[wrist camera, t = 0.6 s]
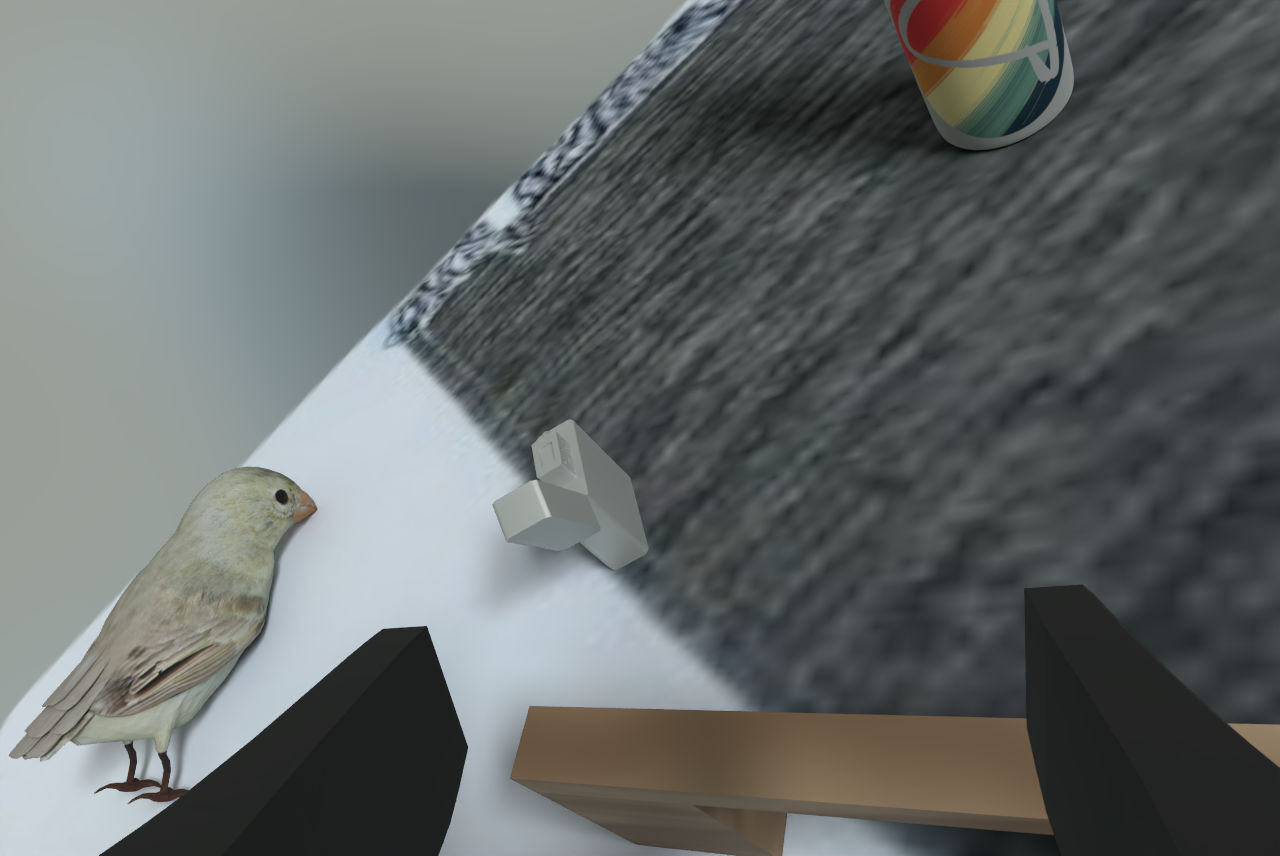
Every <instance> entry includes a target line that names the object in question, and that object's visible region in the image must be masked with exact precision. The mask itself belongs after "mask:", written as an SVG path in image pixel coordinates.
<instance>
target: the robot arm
mask: <svg viewBox="0 0 1280 856" xmlns="http://www.w3.org/2000/svg"><path fill="white" fill-rule="evenodd" d="M1024 594H1025V657H1026V721H1027V731H1028V736H1029V740H1030V745H1031V749H1032V754H1033V758H1034V763H1035V767H1036V772H1037V776H1038V780H1039V784H1040V789H1041V793H1042V797H1043V801H1044V805H1045V810H1046V813H1047V816H1048V819H1049V822H1050V825H1051V828H1052V831H1053V833H1054V836H1055V839H1056V842H1057V845H1058V848H1059V850H1060V853H1061V856H1280V767H1278V766H1277V765H1276V764H1275V763H1274V762H1272V761H1271V760H1270V759H1269V758H1267V757H1266V756H1265V755H1264V754H1263V753H1261V752H1260V751H1259V750H1258V749H1256V748H1255V747H1254V746H1253V745H1252V744H1250V743H1249V742H1248V741H1247V740H1246V739H1245V738H1243V737H1242V736H1241V735H1240V734H1239V733H1238V732H1236V731H1235V730H1234V729H1233V728H1232V727H1231V726H1229V725H1228V724H1227V723H1226V722H1225V721H1224V720H1223V719H1221V718H1220V717H1219V716H1218V715H1217V714H1216V713H1215V712H1214V711H1213V710H1212V709H1210V708H1209V707H1208V706H1207V705H1206V704H1205V703H1204V702H1203V701H1202V700H1201V699H1199V698H1198V697H1197V696H1196V695H1195V694H1194V693H1193V692H1192V691H1191V690H1190V689H1188V688H1187V687H1186V686H1185V685H1184V684H1183V683H1182V682H1181V681H1180V680H1179V679H1178V678H1177V677H1175V676H1174V675H1173V674H1172V673H1171V672H1170V671H1169V670H1168V669H1167V668H1166V667H1165V666H1164V665H1163V664H1162V663H1161V662H1160V661H1159V660H1158V659H1157V658H1156V657H1155V656H1154V655H1153V654H1152V653H1151V652H1150V651H1149V650H1148V649H1147V648H1146V647H1145V646H1144V645H1143V644H1142V643H1141V642H1140V641H1139V640H1138V639H1137V638H1136V637H1135V636H1134V635H1133V634H1132V633H1131V632H1130V631H1129V630H1128V629H1127V628H1126V627H1125V626H1124V625H1123V624H1122V623H1121V622H1120V621H1119V620H1118V619H1117V618H1116V617H1115V616H1114V615H1113V614H1112V613H1111V612H1110V611H1109V610H1108V609H1107V608H1106V606H1105V605H1104V604H1103V603H1102V602H1101V601H1100V600H1099V599H1098V598H1097V597H1096V596H1095V595H1094V594H1093V593H1092V592H1091V591H1090V590H1088V589H1087V588H1086V587H1085V586H1083V585H1071V586H1055V587H1039V588H1024ZM467 750H468V745H467V743H466V740H465V737H464V734H463V731H462V728H461V725H460V722H459V719H458V716H457V713H456V710H455V707H454V704H453V701H452V698H451V696H450V693H449V690H448V687H447V684H446V681H445V678H444V675H443V672H442V669H441V666H440V663H439V660H438V657H437V654H436V651H435V649H434V646H433V643H432V640H431V637H430V634H429V631H428V628H427V626H422V627H406V628H390V629H382V630H381V631H380V632H378V633H377V634H376V635H374V636H373V637H372V638H370V639H369V640H368V641H367V642H365V643H364V644H363V645H362V646H360V647H359V648H358V649H357V650H356V651H354V652H353V653H352V654H351V655H350V656H348V657H347V658H346V659H345V660H344V661H343V662H341V663H340V664H339V665H338V666H337V667H336V668H335V669H333V670H332V671H331V672H330V673H329V674H328V675H327V676H325V677H324V678H323V679H322V680H321V681H320V682H318V683H317V684H316V685H315V686H314V687H313V688H312V689H310V690H309V691H308V692H307V693H306V694H305V695H304V696H302V697H301V698H300V699H299V700H298V701H297V702H295V703H294V704H293V705H292V706H291V707H290V708H289V709H287V710H286V711H285V712H284V713H283V714H282V715H280V716H279V717H278V718H277V719H276V720H275V721H273V722H272V723H271V724H270V725H269V726H268V727H267V728H265V729H264V730H263V731H262V732H261V733H260V734H258V735H257V736H256V737H255V738H254V739H252V740H251V741H250V742H249V743H248V744H246V745H245V746H244V747H243V748H241V749H240V750H239V751H238V752H236V753H235V754H234V755H233V756H231V757H230V758H229V759H228V760H226V761H225V762H224V763H223V764H221V765H220V766H219V767H218V768H216V769H215V770H214V771H213V772H211V773H210V774H209V775H208V776H206V777H205V778H204V779H203V780H201V781H200V782H199V783H198V784H197V785H195V786H194V787H193V788H192V789H190V790H189V791H188V792H187V793H185V794H184V795H183V796H181V797H180V798H179V799H178V800H176V801H175V802H174V803H172V804H171V805H170V806H168V807H167V808H166V809H164V810H163V811H161V812H160V813H159V814H157V815H156V816H155V817H153V818H152V819H150V820H149V821H148V822H146V823H145V824H144V825H142V826H141V827H139V828H138V829H137V830H135V831H134V832H132V833H131V834H129V835H128V836H126V837H125V838H123V839H122V840H121V841H119V842H118V843H116V844H115V845H113V846H112V847H110V848H109V849H108V850H106V851H105V852H103V853H102V854H100V855H99V856H438V855H439V852H440V850H441V847H442V844H443V842H444V839H445V836H446V833H447V830H448V828H449V825H450V822H451V818H452V814H453V810H454V806H455V802H456V798H457V794H458V791H459V786H460V782H461V777H462V773H463V768H464V764H465V759H466V755H467Z"/></svg>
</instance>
